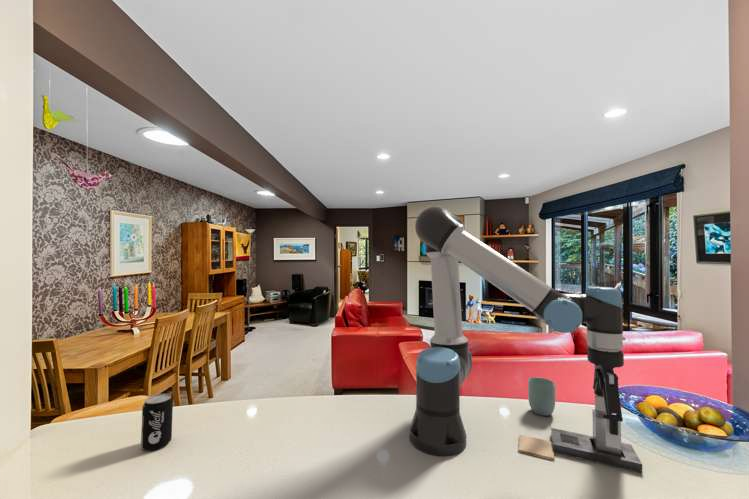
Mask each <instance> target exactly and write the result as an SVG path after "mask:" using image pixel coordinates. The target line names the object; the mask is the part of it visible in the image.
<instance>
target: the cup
mask: <svg viewBox="0 0 749 499" xmlns="http://www.w3.org/2000/svg"><path fill="white" fill-rule="evenodd" d="M527 391H528V392H527V393H528V394H527V396H528V404H529V407H530V409H531V410H532V411H533V412H534V413H535V414H537V415H540V416H550V415H552V414H553V413H554V411H555V407H556V384H555V382H554V381H553V380H551V379H549V378H545V377H540V376H539V377H537V376H534V377H533V376H532V377H528V381H527Z"/></svg>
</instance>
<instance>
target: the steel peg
mask: <svg viewBox="0 0 749 499" xmlns="http://www.w3.org/2000/svg"><path fill="white" fill-rule="evenodd" d="M591 410H592V436H593V446H592V448H593V451H597V452H602V453H606V454H610V455H615V456H619V457H621V449H618V448H613V447H608V446H606V433H605V418H603V415H606V411H600V410H595V408H594V409H591ZM614 415H616V414H614ZM620 442H621V443H622V424H621V422H620Z"/></svg>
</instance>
